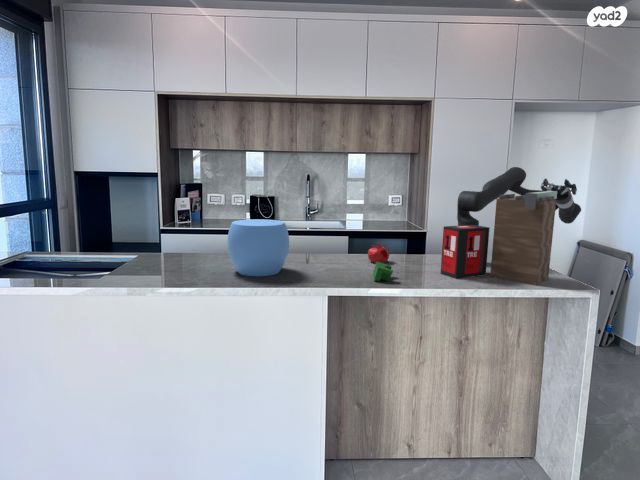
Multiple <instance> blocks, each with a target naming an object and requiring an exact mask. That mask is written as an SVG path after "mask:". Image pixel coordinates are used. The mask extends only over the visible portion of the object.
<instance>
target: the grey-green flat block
mask: <svg viewBox="0 0 640 480" xmlns="http://www.w3.org/2000/svg"><path fill="white" fill-rule="evenodd" d="M549 196H554V199H557V191H545V192H533V193H526V194H525V205H524V209H532V210H536V202H537V201H539V200H540V198H541V197H549Z"/></svg>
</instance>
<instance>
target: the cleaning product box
mask: <svg viewBox="0 0 640 480" xmlns="http://www.w3.org/2000/svg"><path fill="white" fill-rule="evenodd" d="M490 228H491V227H489V226H484V225H479V226H478V225H461V226H458V225H449V226H448V225H447V226H443V231H442V232H443V233H442V248H441V260H440V261H441V265H440V275H443V276H446V277H449V278H453V279H456V280H457V279H464V278H465V279H466V278H472V277H473V276H474V277H480V276H481V275H482V276H486V274H487V263H488V254H489V253H488V252H489V238H490Z"/></svg>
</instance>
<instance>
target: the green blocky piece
mask: <svg viewBox="0 0 640 480" xmlns="http://www.w3.org/2000/svg"><path fill="white" fill-rule="evenodd" d="M374 265H375V266H374V269H373V273H372V278H373V281H374V282H379V283H380V281H381V280H384V281H387V282H390V280H391V277H392V275H393V272H394V270H393V269H392V265H390V264H386V263H380V262H376V263H375V264H374Z"/></svg>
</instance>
